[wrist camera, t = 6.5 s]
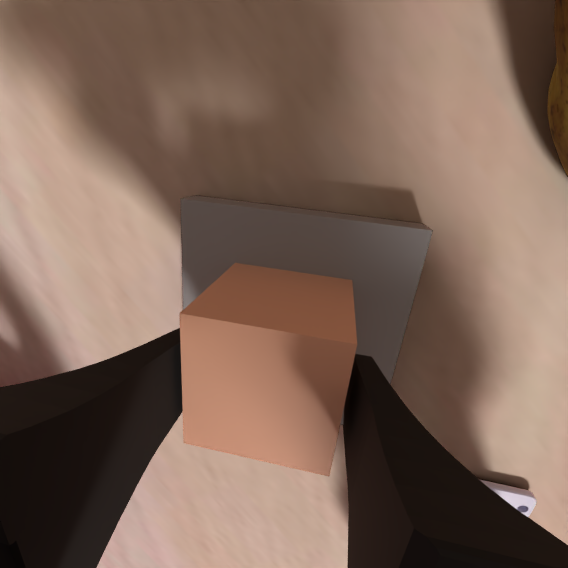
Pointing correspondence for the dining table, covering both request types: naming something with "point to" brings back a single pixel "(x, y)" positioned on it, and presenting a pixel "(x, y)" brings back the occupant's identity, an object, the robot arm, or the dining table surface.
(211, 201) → the slate board
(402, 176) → the dining table surface
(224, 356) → the terracotta block
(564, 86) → the potato
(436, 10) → the dining table surface
